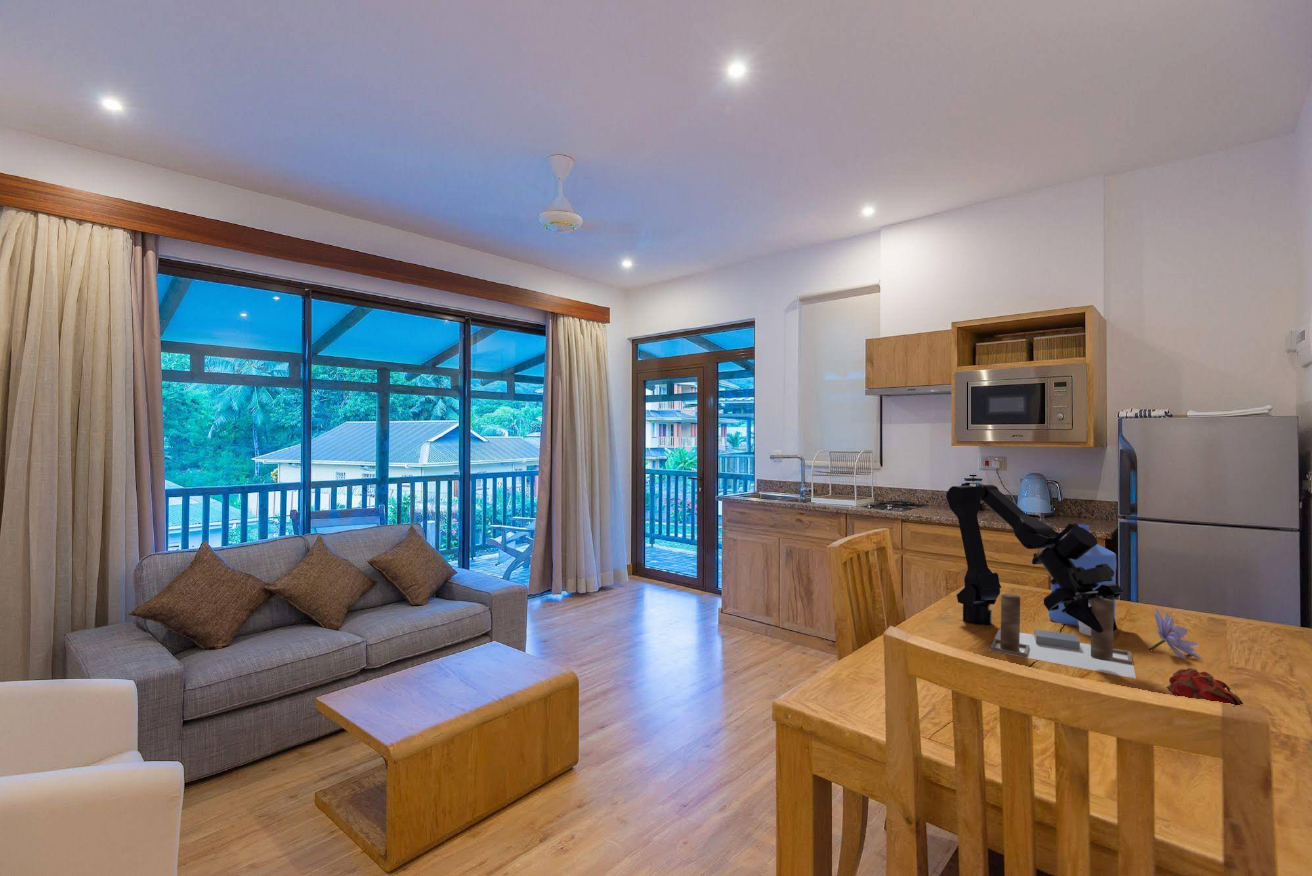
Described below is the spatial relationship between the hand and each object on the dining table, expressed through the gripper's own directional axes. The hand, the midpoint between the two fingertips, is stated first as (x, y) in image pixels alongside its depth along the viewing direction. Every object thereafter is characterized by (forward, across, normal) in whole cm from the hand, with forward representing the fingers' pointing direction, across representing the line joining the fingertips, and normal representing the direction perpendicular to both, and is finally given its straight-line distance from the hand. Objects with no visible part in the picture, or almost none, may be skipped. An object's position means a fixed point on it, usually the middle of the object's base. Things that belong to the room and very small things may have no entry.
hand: (1108, 631), depth 135 cm
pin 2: (+4, 0, +6) cm, 7 cm away
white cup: (-6, +22, +21) cm, 32 cm away
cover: (-6, +5, +18) cm, 20 cm away
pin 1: (-5, -10, +18) cm, 21 cm away
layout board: (-2, +1, +16) cm, 16 cm away
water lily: (+5, +28, +10) cm, 30 cm away
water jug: (-14, +31, +29) cm, 44 cm away
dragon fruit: (+20, +1, -6) cm, 21 cm away
